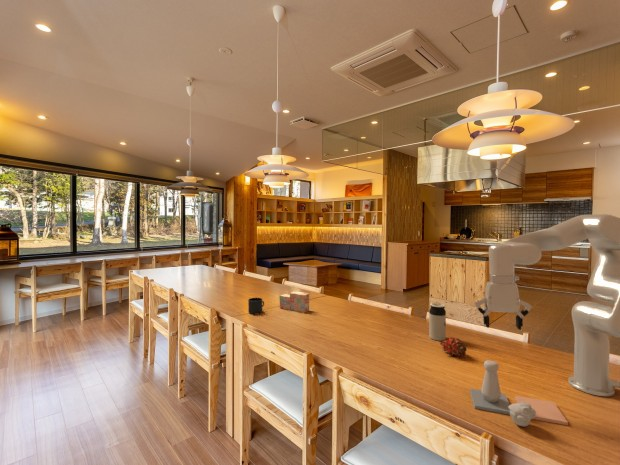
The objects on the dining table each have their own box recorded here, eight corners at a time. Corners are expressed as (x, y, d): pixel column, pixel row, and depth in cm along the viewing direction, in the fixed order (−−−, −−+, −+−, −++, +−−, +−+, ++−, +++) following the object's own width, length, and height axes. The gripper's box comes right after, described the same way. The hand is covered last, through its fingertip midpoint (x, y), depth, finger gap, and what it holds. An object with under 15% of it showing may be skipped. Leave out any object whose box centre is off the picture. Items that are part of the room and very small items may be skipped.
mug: (268, 311, 213) (268, 298, 213) (253, 315, 205) (253, 301, 204) (260, 308, 220) (260, 296, 219) (245, 312, 211) (245, 299, 211)
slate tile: (505, 396, 107) (505, 394, 107) (513, 415, 97) (513, 412, 97) (469, 391, 111) (469, 388, 111) (474, 408, 101) (474, 405, 101)
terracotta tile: (553, 404, 103) (553, 401, 103) (567, 425, 92) (567, 422, 92) (514, 398, 106) (515, 395, 106) (524, 417, 96) (524, 414, 96)
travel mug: (426, 338, 162) (427, 304, 161) (432, 334, 167) (432, 301, 167) (442, 342, 156) (442, 307, 156) (447, 338, 162) (448, 304, 161)
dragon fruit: (467, 363, 136) (441, 358, 145) (472, 347, 141) (447, 343, 150) (460, 350, 134) (434, 346, 143) (465, 335, 138) (440, 332, 148)
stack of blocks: (279, 308, 220) (279, 291, 220) (284, 306, 226) (284, 289, 225) (304, 312, 209) (304, 295, 209) (309, 310, 215) (309, 293, 214)
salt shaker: (482, 392, 108) (483, 356, 108) (501, 398, 105) (502, 361, 104) (479, 400, 104) (480, 362, 103) (499, 406, 100) (499, 367, 100)
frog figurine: (534, 435, 88) (535, 412, 88) (506, 425, 93) (506, 402, 92) (536, 425, 93) (537, 402, 92) (509, 415, 97) (510, 394, 97)
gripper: (526, 277, 109) (527, 325, 109) (472, 276, 114) (473, 322, 115) (534, 282, 102) (535, 333, 102) (476, 281, 107) (477, 329, 108)
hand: (502, 327), depth 109 cm, fingers open, 9 cm apart
